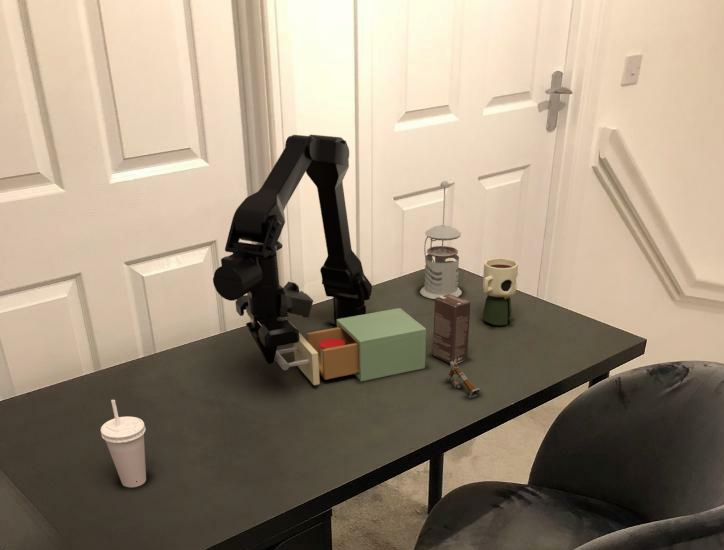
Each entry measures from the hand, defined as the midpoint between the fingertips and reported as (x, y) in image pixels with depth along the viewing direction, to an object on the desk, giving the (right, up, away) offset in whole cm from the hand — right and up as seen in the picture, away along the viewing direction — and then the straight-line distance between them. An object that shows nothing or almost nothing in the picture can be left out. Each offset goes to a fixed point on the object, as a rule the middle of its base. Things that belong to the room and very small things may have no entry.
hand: (270, 362), depth 151 cm
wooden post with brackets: (+35, -5, 0) cm, 36 cm away
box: (+34, +3, +12) cm, 36 cm away
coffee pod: (+11, +1, +5) cm, 12 cm away
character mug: (+45, +13, +27) cm, 54 cm away
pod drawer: (+9, -1, +5) cm, 11 cm away
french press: (+34, +24, +42) cm, 59 cm away
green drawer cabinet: (+20, +2, +10) cm, 23 cm away
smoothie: (-18, -22, -24) cm, 37 cm away
